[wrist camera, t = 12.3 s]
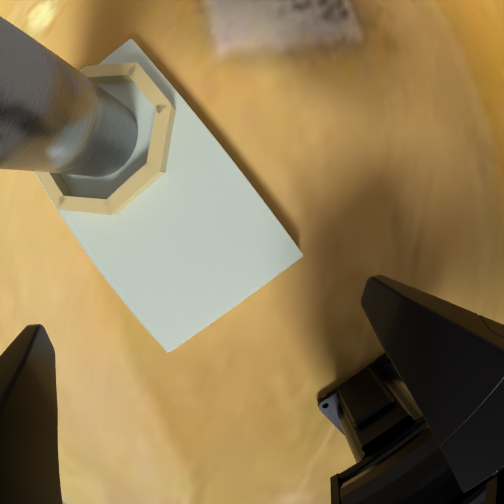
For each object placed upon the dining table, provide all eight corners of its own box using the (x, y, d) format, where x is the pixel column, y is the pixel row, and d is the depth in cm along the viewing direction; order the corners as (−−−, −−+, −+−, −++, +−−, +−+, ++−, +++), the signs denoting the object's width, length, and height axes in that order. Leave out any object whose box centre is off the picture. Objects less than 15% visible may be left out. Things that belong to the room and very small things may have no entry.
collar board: (299, 251, 18) (308, 259, 16) (172, 344, 19) (164, 362, 16) (136, 45, 15) (125, 29, 13) (30, 146, 16) (9, 143, 14)
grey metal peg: (146, 159, 16) (-25, 101, 3) (79, 188, 16) (-104, 195, 3) (128, 89, 15) (-6, -28, 3) (64, 120, 15) (-94, 68, 3)
